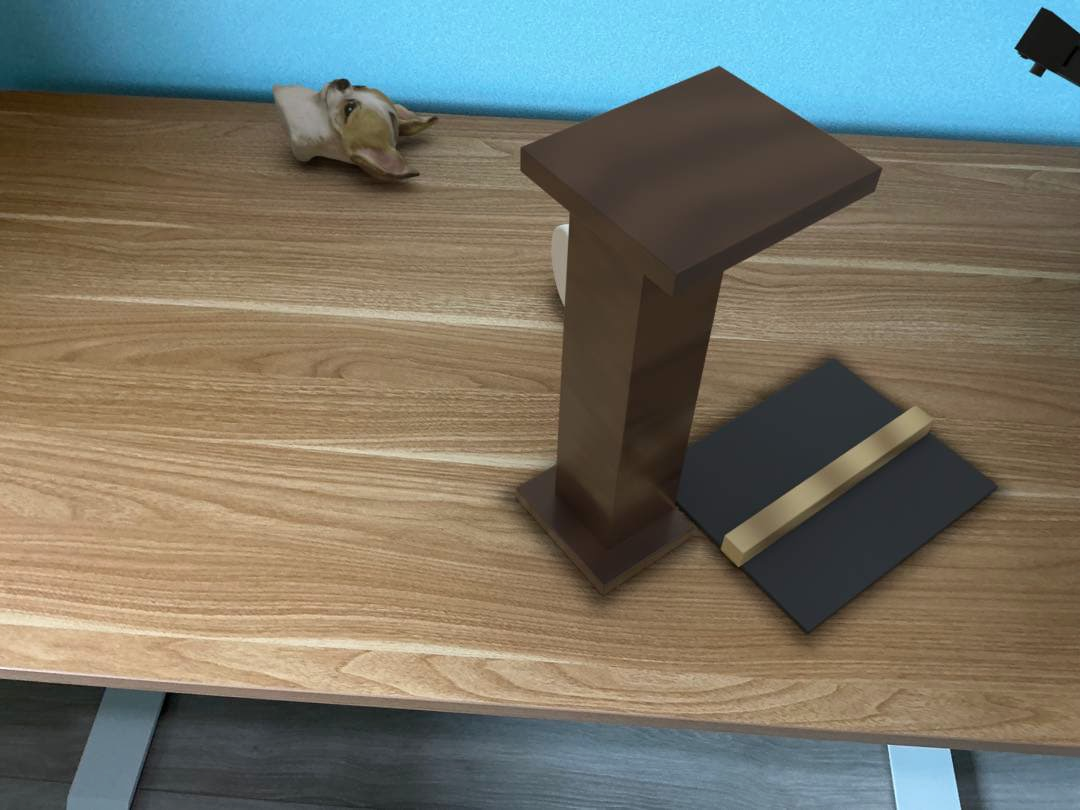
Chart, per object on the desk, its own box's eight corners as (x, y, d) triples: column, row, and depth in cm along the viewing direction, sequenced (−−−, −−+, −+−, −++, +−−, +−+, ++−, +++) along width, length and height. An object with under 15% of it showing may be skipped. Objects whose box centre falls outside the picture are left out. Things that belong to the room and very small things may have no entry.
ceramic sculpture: (287, 40, 95) (440, 62, 95) (296, 118, 102) (440, 139, 102) (251, 101, 88) (417, 125, 88) (264, 181, 95) (418, 203, 95)
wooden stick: (908, 419, 76) (915, 404, 75) (927, 434, 75) (934, 419, 74) (719, 549, 68) (724, 535, 67) (738, 568, 67) (743, 553, 66)
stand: (772, 499, 72) (883, 167, 50) (612, 607, 66) (660, 282, 44) (662, 398, 78) (719, 65, 56) (506, 488, 72) (503, 153, 50)
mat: (996, 489, 73) (998, 485, 72) (807, 634, 64) (808, 631, 64) (832, 360, 81) (833, 357, 81) (646, 475, 73) (646, 471, 72)
